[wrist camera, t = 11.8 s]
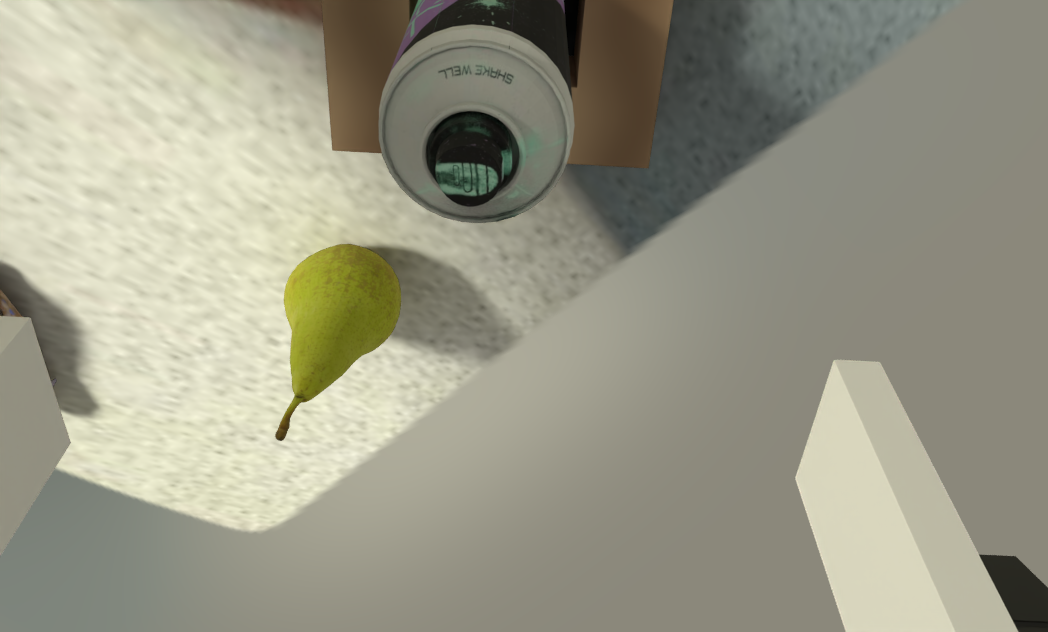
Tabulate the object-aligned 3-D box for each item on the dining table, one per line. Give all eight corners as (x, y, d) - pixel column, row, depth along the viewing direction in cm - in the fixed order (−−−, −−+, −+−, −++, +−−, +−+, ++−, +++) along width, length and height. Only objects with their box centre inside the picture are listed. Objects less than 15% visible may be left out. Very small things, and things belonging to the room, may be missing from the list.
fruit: (415, 230, 46) (382, 375, 36) (400, 319, 49) (365, 475, 39) (304, 208, 45) (239, 350, 36) (295, 300, 49) (234, 454, 39)
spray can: (585, -9, 39) (619, 206, 23) (482, 58, 41) (446, 303, 24) (515, -124, 36) (497, 25, 20) (409, -47, 38) (313, 148, 22)
